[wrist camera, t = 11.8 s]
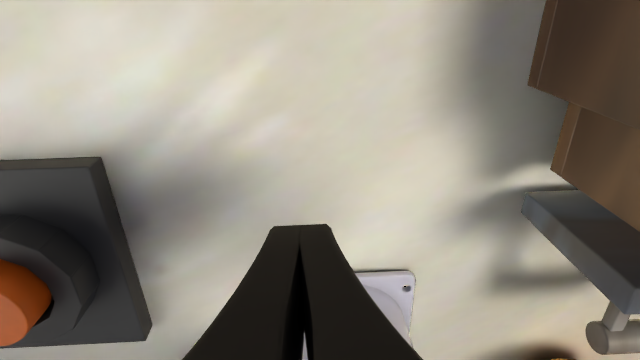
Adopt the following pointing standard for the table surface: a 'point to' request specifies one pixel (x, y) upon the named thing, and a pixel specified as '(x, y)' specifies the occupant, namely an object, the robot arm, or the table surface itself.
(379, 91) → the table surface
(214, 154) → the table surface
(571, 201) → the drawer
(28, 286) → the button
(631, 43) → the cabinet
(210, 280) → the table surface
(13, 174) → the block
